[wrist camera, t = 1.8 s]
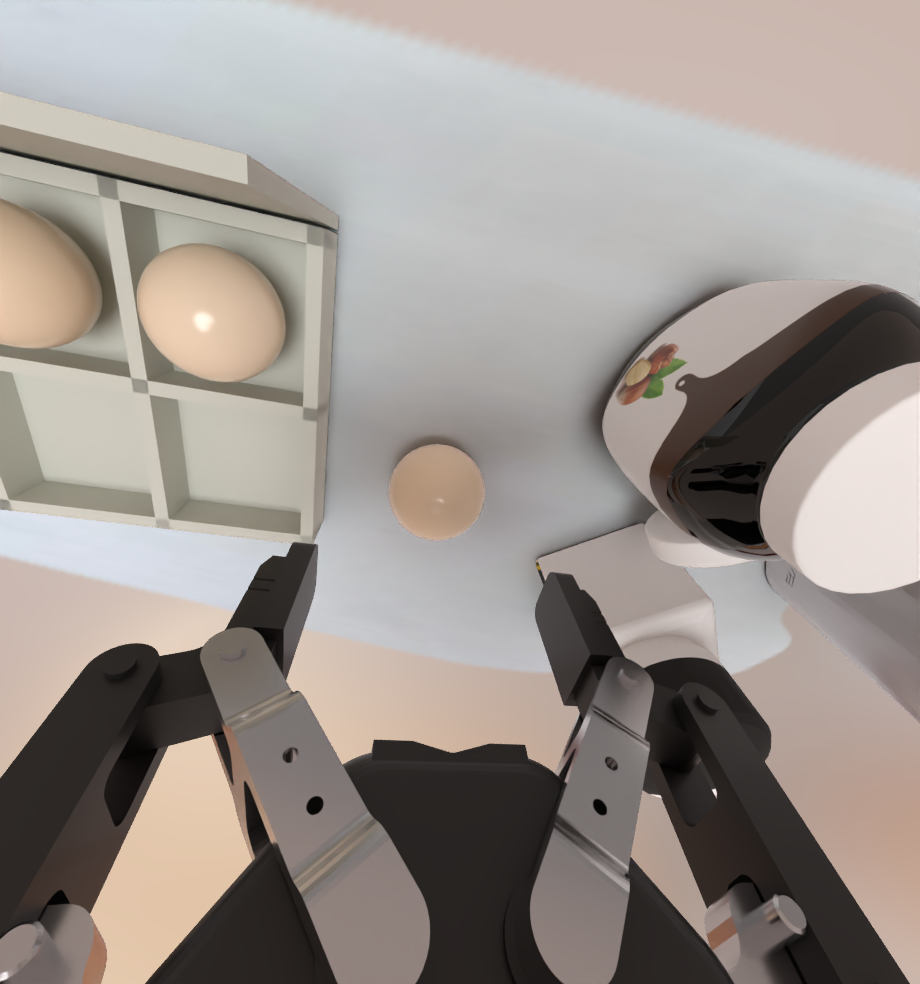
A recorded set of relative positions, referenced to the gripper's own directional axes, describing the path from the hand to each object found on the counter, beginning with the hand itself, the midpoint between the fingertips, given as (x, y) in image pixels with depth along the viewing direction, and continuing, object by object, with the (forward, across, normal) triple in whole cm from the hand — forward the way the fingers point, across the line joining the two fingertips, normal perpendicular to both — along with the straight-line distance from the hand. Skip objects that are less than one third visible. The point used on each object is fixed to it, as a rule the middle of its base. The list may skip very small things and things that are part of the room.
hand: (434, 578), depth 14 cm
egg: (+9, 0, 0) cm, 9 cm away
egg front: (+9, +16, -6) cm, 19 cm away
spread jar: (+9, -13, -5) cm, 17 cm away
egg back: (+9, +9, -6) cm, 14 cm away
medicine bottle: (+9, -12, +6) cm, 17 cm away
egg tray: (+10, +13, -2) cm, 16 cm away
